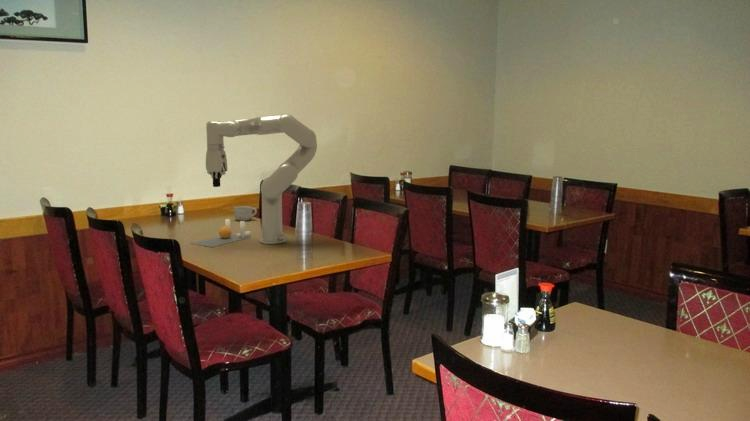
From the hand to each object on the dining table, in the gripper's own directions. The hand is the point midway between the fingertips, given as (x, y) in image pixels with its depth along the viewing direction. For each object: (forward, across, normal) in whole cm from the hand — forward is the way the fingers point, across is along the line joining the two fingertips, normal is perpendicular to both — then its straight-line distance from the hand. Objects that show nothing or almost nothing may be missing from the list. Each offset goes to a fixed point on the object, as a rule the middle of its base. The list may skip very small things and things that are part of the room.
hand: (216, 186), depth 278 cm
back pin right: (+27, +7, -14) cm, 31 cm away
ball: (+24, +4, -8) cm, 26 cm away
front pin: (+26, -1, -12) cm, 29 cm away
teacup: (+27, +30, -51) cm, 65 cm away
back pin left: (+27, -3, -14) cm, 30 cm away
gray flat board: (+27, +2, -4) cm, 27 cm away
